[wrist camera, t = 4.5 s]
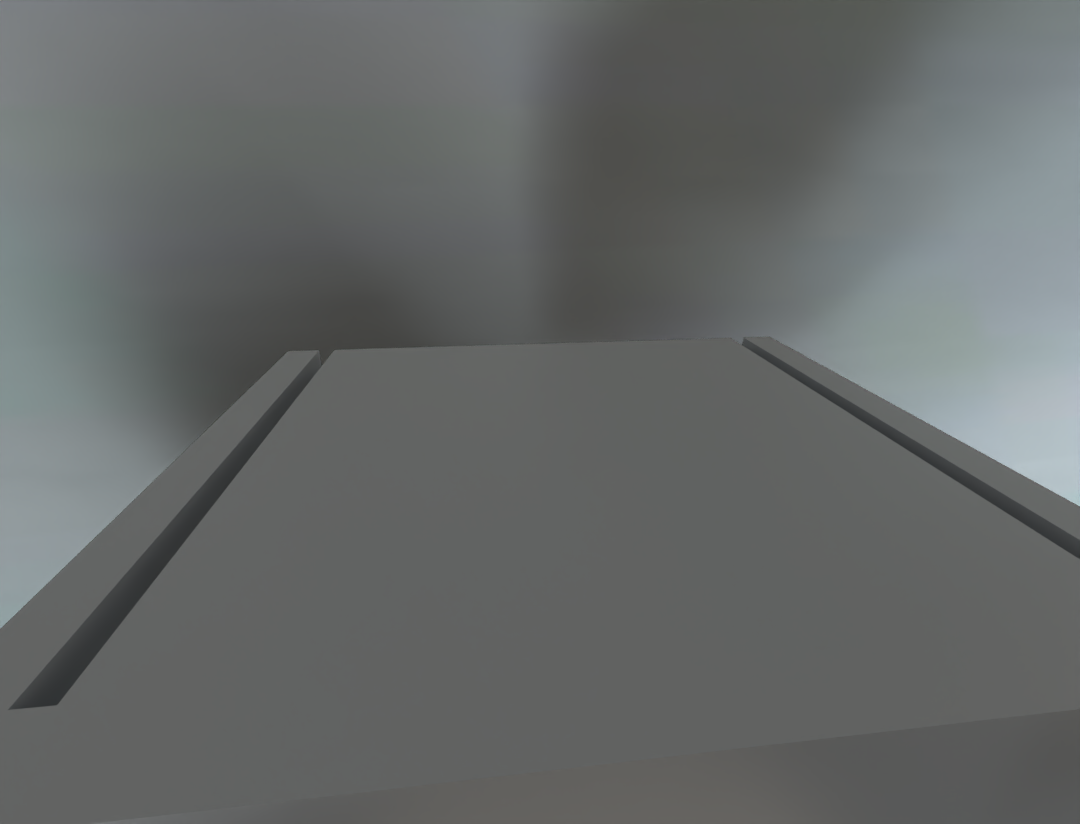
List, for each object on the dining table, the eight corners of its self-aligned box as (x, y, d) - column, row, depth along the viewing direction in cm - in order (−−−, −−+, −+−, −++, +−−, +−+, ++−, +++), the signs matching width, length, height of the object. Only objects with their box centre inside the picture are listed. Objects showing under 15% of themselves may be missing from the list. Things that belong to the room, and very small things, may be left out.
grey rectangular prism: (708, 668, 16) (944, 1162, 8) (356, 703, 15) (224, 1315, 7) (769, 336, 12) (1383, 672, 4) (287, 351, 11) (-242, 862, 3)
